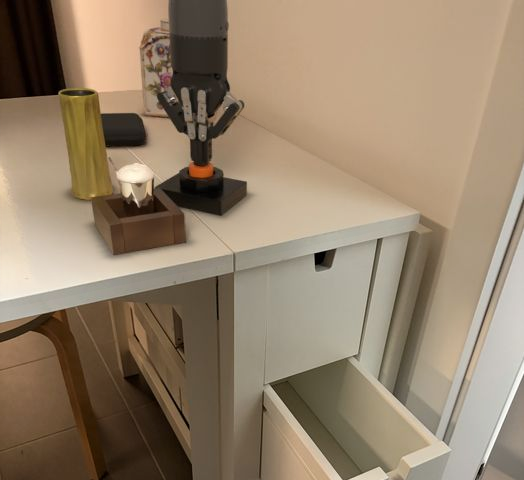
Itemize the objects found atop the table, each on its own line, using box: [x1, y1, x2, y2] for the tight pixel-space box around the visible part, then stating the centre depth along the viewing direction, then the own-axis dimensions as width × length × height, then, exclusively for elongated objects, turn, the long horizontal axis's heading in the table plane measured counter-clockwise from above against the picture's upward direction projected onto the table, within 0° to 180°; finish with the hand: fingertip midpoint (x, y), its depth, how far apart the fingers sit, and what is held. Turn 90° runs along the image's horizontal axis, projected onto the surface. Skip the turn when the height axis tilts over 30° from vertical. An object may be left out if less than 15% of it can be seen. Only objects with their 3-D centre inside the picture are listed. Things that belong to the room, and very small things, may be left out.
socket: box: [90, 188, 186, 256], centre depth 72 cm, size 10×10×4 cm
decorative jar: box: [138, 18, 184, 118], centre depth 120 cm, size 12×12×18 cm
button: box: [188, 161, 214, 178], centre depth 82 cm, size 4×4×2 cm
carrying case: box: [101, 112, 148, 147], centre depth 107 cm, size 11×3×15 cm
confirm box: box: [154, 166, 248, 216], centre depth 83 cm, size 11×9×4 cm
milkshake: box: [108, 156, 155, 218], centre depth 70 cm, size 5×5×10 cm
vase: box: [58, 87, 114, 201], centre depth 80 cm, size 6×6×14 cm
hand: (201, 164), depth 81 cm, fingers closed
